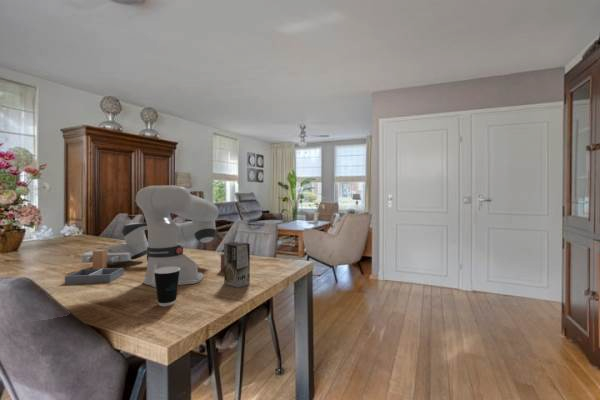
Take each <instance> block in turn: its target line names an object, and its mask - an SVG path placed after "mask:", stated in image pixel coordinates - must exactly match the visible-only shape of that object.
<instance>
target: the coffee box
mask: <svg viewBox="0 0 600 400" xmlns="http://www.w3.org/2000/svg"><path fill="white" fill-rule="evenodd" d="M250 245H251V244H250V243H247V242H242V241H231V242H225V243H223V249H224V252H223V254H224V271H223V273H224V275H223V276H224V277H223V278H224V279H223V283H224V284H225V285H229V286H231V287H234V288H237V289H238V288H241V287H245V286H249V285H250V283H251V282H250V281H251V279H250V271H251V269H250V265H251V264H250V263H251V262H250V261H251V259H250V255H251V254H250V253H251V251H250V250H251V249H250Z"/></svg>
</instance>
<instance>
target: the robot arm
mask: <svg viewBox="0 0 600 400" xmlns="http://www.w3.org/2000/svg"><path fill="white" fill-rule="evenodd" d="M135 202H136V205H137V207H138V208H140V210H141V212H142V214H143V216H144V219H145V222H130V223H126V224H125V225H124V226H123V228H122V230H121V235H122V237H123V238H124V241H125V242H120V243H117V244H113V245H108V246H106V247H98V248H94V249H93V250H90V251H87V252H85V253H82V255H81V259H80V260H81V262H82V263H84V264H85V263H93V251H95V250H106V249H107V264H109V265H114V264H118V263H119V262H129V261H130V260H136V259H139V258H142V257H144V256H146V261H147V266H146V272H145V276H144V280H143V284H145V285H148V286H151V287H153V288H156V282H155V274H154V272H153V271H154V270H155V269H158V268H162V267H179V268H180V270H179V279H178V286H183V285H192V284H193V285H194V284H196V283H200V282H201V281H202V280H203V279H204V274H203V273H202V272H198V265H197V263H196V261H194V260H192V259H191V258H189V256H186V255H185V254H184V246H181V245H184V244H185V245H186V244H190V243H193V242H195V241H197V242H199V243H203V244H204V243H210V242H212V241H214V240H215V239H216V238H217V229H216V220H217V219H218V217H219V214H220V213H219V211H220V210H219V208H218V206H217V205H216V204H214V203H213V202H211V201H209V200H207V199H204V198H202V197H200V196H197V195H194V194H191V192H190V191H189V190H188V188H186V187H183V186H180V185H179V186H178V185H176V184H174V185H173V184H171V185H170V184H169V185H148V186H145V187H143V188H140V189H139V190H138V191H137V192H136V194H135ZM171 214H173V215H177V216H178V217H180V218H182V219H187V220H189V221H186V222H183V223H177V222H174V220H173V219H172V217H171ZM146 231H147V235H146ZM146 236H147V237H146Z"/></svg>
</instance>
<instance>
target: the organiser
mask: <svg viewBox="0 0 600 400" xmlns="http://www.w3.org/2000/svg"><path fill="white" fill-rule="evenodd" d="M123 275H124V267H112V268H111V267H107V268H102V269H93V268H82V269H79V270H77V271H75V272H73V273H70V274H67V275H65V276H64V284H65V285H73V284H74V285H76V284H78V285H79V284H100V283H103V284H104V283H112V282H113V281H115V280H116V279H118V278H120V277H122V276H123Z"/></svg>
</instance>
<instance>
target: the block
mask: <svg viewBox="0 0 600 400" xmlns="http://www.w3.org/2000/svg"><path fill="white" fill-rule="evenodd" d="M92 251H93V250H92ZM102 268H108V263H107V249H106V250H95V251H93V262H92V269H102Z"/></svg>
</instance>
